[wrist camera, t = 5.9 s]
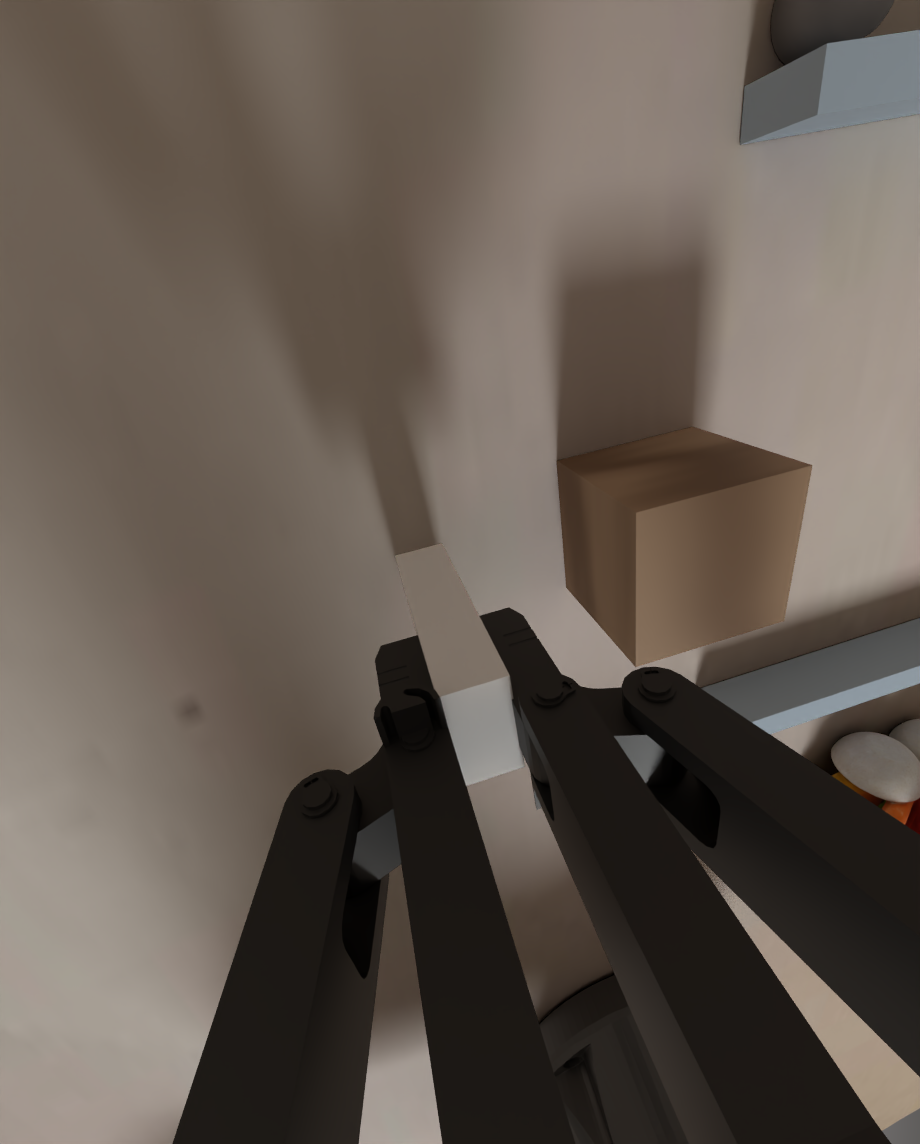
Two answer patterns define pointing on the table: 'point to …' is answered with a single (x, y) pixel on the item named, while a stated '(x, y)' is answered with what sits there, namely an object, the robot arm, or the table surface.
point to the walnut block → (680, 539)
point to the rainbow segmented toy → (884, 769)
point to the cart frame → (792, 107)
